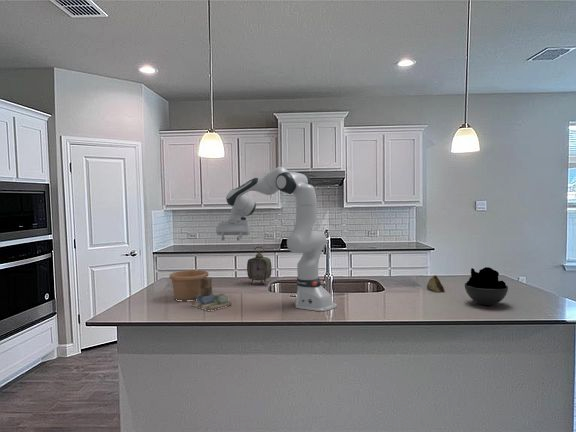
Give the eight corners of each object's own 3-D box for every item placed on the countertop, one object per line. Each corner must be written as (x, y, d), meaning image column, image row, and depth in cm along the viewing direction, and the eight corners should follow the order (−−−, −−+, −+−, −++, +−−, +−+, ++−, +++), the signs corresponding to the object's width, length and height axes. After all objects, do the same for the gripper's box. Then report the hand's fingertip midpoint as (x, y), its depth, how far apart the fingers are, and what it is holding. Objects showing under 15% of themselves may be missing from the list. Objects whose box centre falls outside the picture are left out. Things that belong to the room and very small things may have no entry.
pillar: (211, 294, 216) (211, 277, 216) (208, 296, 212) (208, 279, 211) (204, 293, 217) (203, 277, 217) (200, 295, 213) (200, 279, 212)
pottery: (207, 302, 223) (206, 276, 222) (166, 303, 221) (165, 278, 220) (210, 292, 245) (210, 269, 244) (173, 294, 243) (173, 270, 242)
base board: (231, 305, 215) (231, 294, 214) (210, 311, 204) (209, 299, 204) (213, 300, 225) (213, 290, 225) (192, 306, 215) (191, 295, 215)
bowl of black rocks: (508, 302, 210) (508, 266, 209) (507, 311, 193) (507, 273, 192) (467, 297, 220) (467, 263, 219) (462, 306, 203) (462, 269, 202)
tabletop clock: (247, 284, 265) (246, 247, 264) (253, 281, 273) (252, 245, 272) (267, 286, 259) (266, 247, 258) (273, 283, 267) (272, 246, 266)
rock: (421, 284, 244) (426, 286, 234) (429, 273, 244) (434, 274, 234) (436, 295, 243) (441, 297, 233) (444, 284, 243) (450, 285, 233)
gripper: (217, 218, 241) (211, 236, 232) (250, 218, 237) (245, 236, 228) (220, 225, 246) (214, 243, 236) (252, 225, 242) (248, 243, 232)
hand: (230, 239), depth 232 cm, fingers open, 8 cm apart
